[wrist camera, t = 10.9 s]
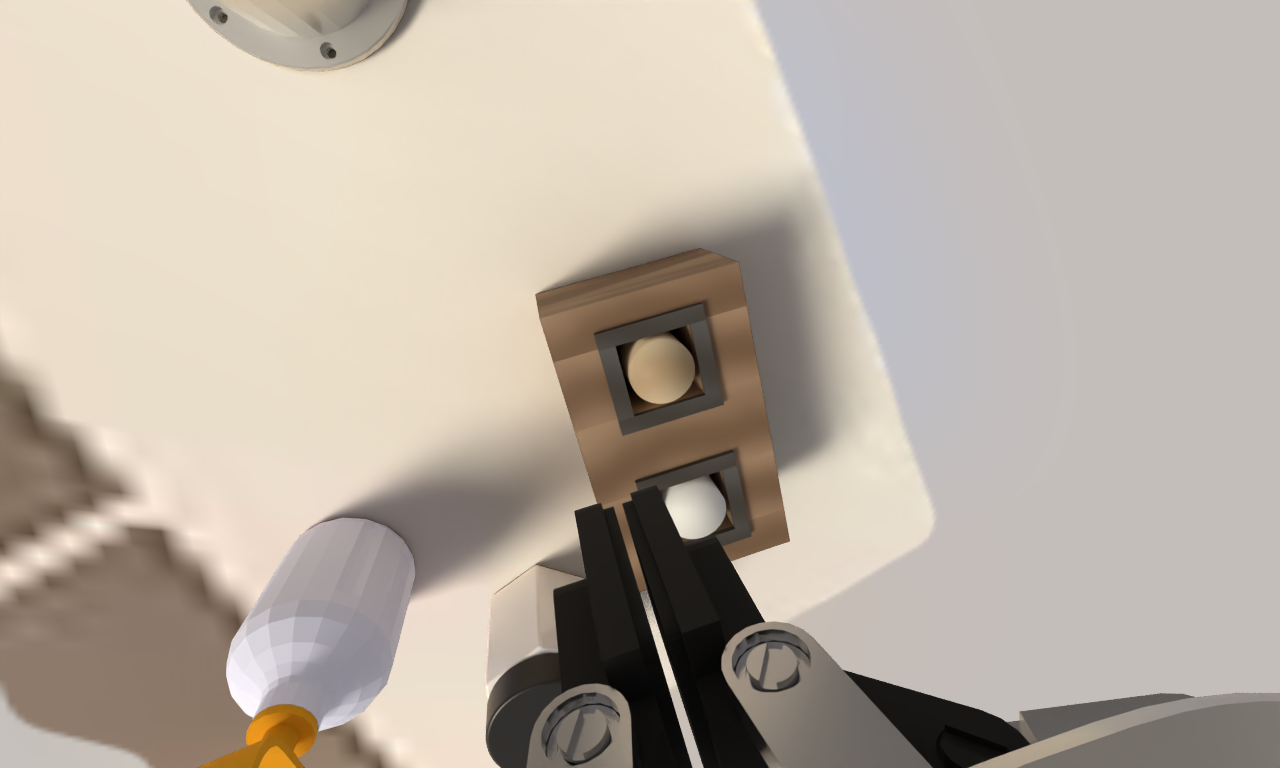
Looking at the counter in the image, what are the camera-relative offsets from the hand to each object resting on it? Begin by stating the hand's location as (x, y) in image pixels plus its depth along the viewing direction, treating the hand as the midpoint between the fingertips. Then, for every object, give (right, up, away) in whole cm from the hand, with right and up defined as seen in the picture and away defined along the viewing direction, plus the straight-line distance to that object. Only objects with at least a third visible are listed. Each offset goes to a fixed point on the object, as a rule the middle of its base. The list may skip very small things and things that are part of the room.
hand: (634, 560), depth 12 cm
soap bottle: (-21, -10, +34) cm, 41 cm away
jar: (-8, -15, +38) cm, 42 cm away
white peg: (+2, -2, +35) cm, 35 cm away
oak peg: (0, +7, +32) cm, 32 cm away
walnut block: (+1, +2, +34) cm, 34 cm away
